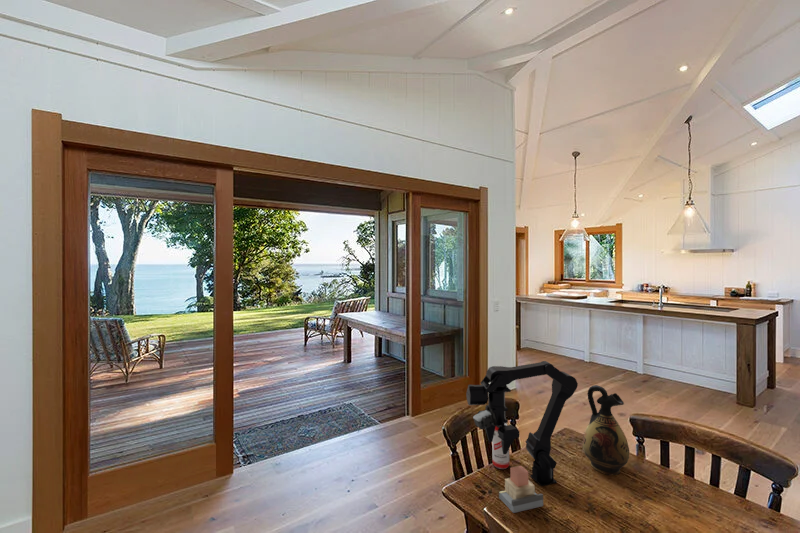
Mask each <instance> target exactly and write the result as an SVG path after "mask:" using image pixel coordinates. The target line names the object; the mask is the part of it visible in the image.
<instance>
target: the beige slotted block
mask: <svg viewBox="0 0 800 533" xmlns="http://www.w3.org/2000/svg"><path fill="white" fill-rule="evenodd" d="M535 489H536V488H535V484H533V482H532V481H531V480H529V479H528V485H523V486H519V487H518V486H517V485H515V484H514V483H513V482H512V481H511V480H510V477H508V478H504V490H505V491H506V492H507V494H509V496H510V497H511V498H512V499H513V500H514V499H519V498H523V497H528V496H532V495H535V493H536V490H535Z"/></svg>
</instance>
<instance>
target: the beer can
mask: <svg viewBox="0 0 800 533" xmlns="http://www.w3.org/2000/svg"><path fill="white" fill-rule="evenodd" d="M504 425H508V423H505V424H504ZM498 429H499V428H498V427H497V426H496V427H495V432H494V436H493V440H492V442H491V443H492V448H491V450H492V454H491V455H492V464H493V466H494V467H495V468H496V469H500V470H506V469H507V468H509V466H510V449H509V450H508V452H507V454H503V451H502V442H501V439H500V438H499V437H498V436H499V434H498Z"/></svg>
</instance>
